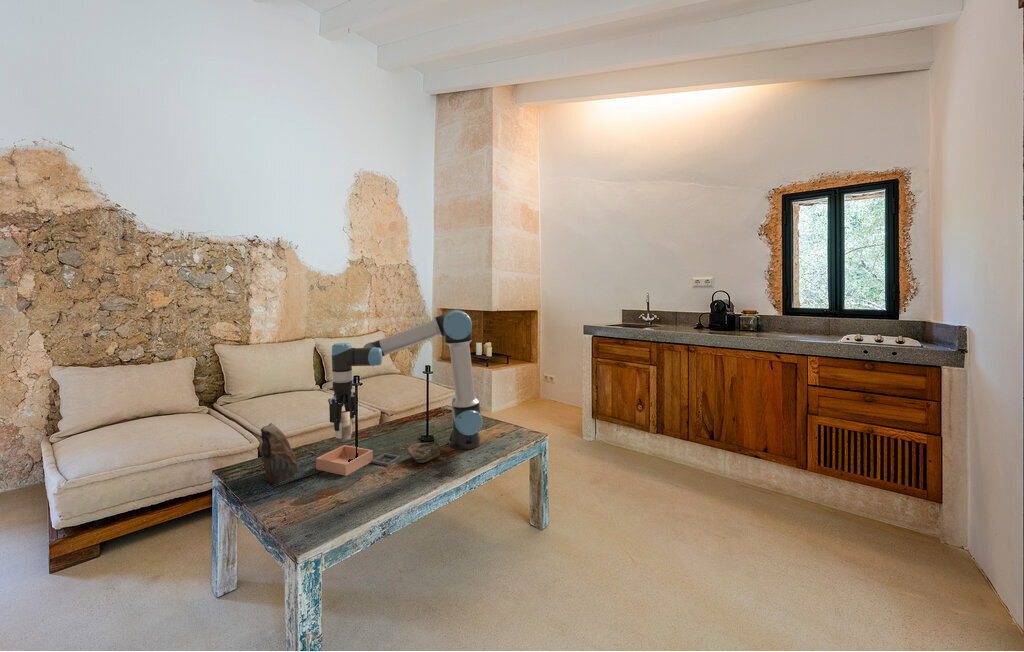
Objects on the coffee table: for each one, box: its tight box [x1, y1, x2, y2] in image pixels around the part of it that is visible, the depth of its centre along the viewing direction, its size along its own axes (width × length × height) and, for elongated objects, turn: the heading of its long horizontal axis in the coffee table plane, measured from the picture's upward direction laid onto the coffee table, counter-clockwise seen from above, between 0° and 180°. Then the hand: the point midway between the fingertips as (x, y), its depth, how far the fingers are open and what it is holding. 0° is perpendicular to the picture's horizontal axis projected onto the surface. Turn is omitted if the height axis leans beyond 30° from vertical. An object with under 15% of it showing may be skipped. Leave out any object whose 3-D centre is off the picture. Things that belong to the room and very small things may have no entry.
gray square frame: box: [370, 452, 402, 467], centre depth 180 cm, size 9×9×1 cm
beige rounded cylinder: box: [336, 410, 352, 444], centre depth 174 cm, size 6×6×12 cm
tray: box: [315, 444, 374, 477], centre depth 175 cm, size 16×16×5 cm
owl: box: [259, 422, 301, 484], centre depth 164 cm, size 13×13×20 cm
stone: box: [407, 441, 441, 464], centre depth 181 cm, size 14×10×10 cm
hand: (343, 435), depth 174 cm, fingers closed on beige rounded cylinder, 5 cm apart
